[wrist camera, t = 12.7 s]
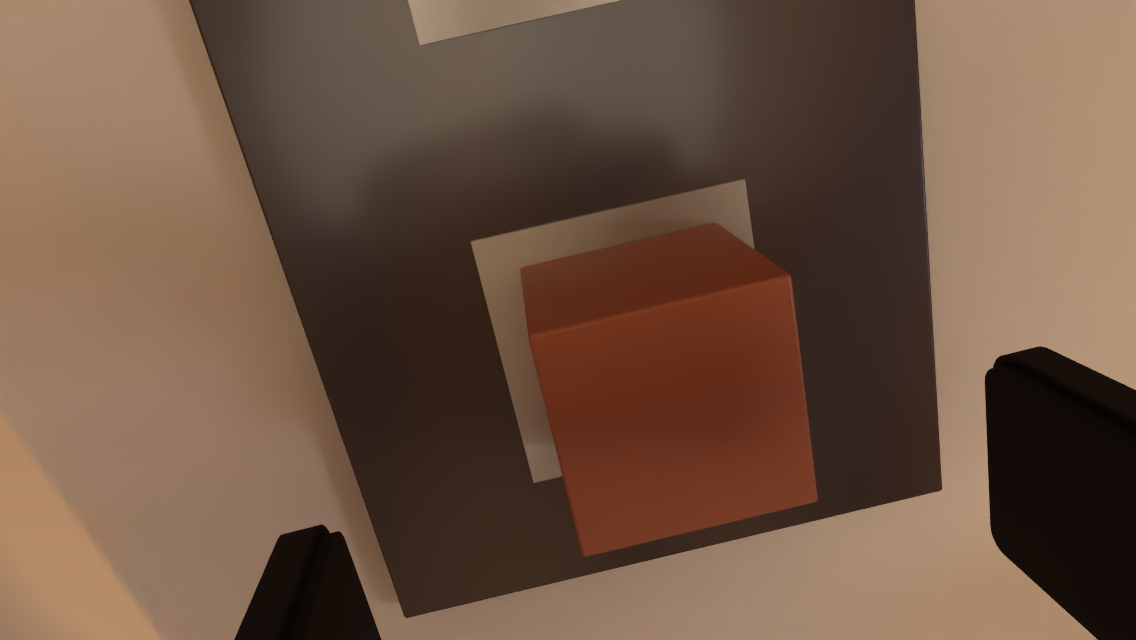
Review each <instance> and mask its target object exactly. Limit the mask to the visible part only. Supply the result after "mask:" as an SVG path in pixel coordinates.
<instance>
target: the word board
mask: <svg viewBox="0 0 1136 640" xmlns="http://www.w3.org/2000/svg"><path fill="white" fill-rule="evenodd" d="M189 2H190V5H191V8H192V10H193V13H194V16H195V19H196V22H197V25H198V28H199V31H200V33H201V36H202V39H203V42H204V45H205V48H206V51H207V53H208V56H209V59H210V62H211V65H212V68H213V71H214V73H215V76H216V79H217V82H218V85H219V88H220V91H221V93H222V96H223V99H224V102H225V105H226V108H227V111H228V113H229V116H230V119H231V122H232V125H233V128H234V131H235V133H236V136H237V139H238V142H239V145H240V148H241V151H242V154H243V156H244V159H245V162H246V165H247V168H248V171H249V174H250V176H251V179H252V182H253V185H254V188H255V191H256V194H257V196H258V199H259V202H260V205H261V208H262V211H263V214H264V216H265V219H266V222H267V225H268V228H269V231H270V234H271V236H272V239H273V242H274V245H275V248H276V251H277V254H278V256H279V259H280V262H281V265H282V268H283V271H284V274H285V277H286V279H287V282H288V285H289V288H290V291H291V294H292V297H293V299H294V302H295V305H296V308H297V311H298V314H299V317H300V319H301V322H302V325H303V328H304V331H305V334H306V337H307V339H308V342H309V345H310V348H311V351H312V354H313V357H314V359H315V362H316V365H317V368H318V371H319V374H320V377H321V379H322V382H323V385H324V388H325V391H326V394H327V397H328V400H329V402H330V405H331V408H332V411H333V414H334V417H335V420H336V422H337V425H338V428H339V431H340V434H341V437H342V440H343V442H344V445H345V448H346V451H347V454H348V457H349V460H350V462H351V465H352V468H353V471H354V474H355V477H356V480H357V482H358V485H359V488H360V491H361V494H362V497H363V500H364V502H365V505H366V508H367V511H368V514H369V517H370V520H371V523H372V525H373V528H374V531H375V534H376V537H377V540H378V543H379V545H380V548H381V551H382V554H383V557H384V560H385V563H386V565H387V568H388V571H389V574H390V577H391V580H392V583H393V585H394V588H395V591H396V594H397V597H398V600H399V603H400V605H401V608H402V611H403V614H404V616H405V618H409V617H413V616H417V615H421V614H426V613H430V612H434V611H438V610H442V609H447V608H451V607H455V606H459V605H463V604H468V603H472V602H476V601H480V600H484V599H489V598H493V597H497V596H501V595H505V594H509V593H514V592H518V591H522V590H526V589H530V588H535V587H539V586H543V585H547V584H551V583H556V582H560V581H564V580H568V579H572V578H577V577H581V576H585V575H589V574H593V573H597V572H602V571H606V570H610V569H614V568H618V567H623V566H627V565H631V564H635V563H639V562H644V561H648V560H652V559H656V558H660V557H665V556H669V555H673V554H677V553H681V552H685V551H690V550H694V549H698V548H702V547H706V546H711V545H715V544H719V543H723V542H727V541H732V540H736V539H740V538H744V537H748V536H753V535H757V534H761V533H765V532H769V531H773V530H778V529H782V528H786V527H790V526H794V525H799V524H803V523H807V522H811V521H815V520H820V519H824V518H828V517H832V516H836V515H841V514H845V513H849V512H853V511H857V510H861V509H866V508H870V507H874V506H878V505H882V504H887V503H891V502H895V501H899V500H903V499H908V498H912V497H916V496H920V495H924V494H929V493H933V492H937V491H940V490H942V480H941V463H940V445H939V427H938V409H937V391H936V373H935V356H934V338H933V320H932V302H931V284H930V266H929V248H928V231H927V213H926V195H925V177H924V159H923V141H922V124H921V106H920V88H919V70H918V52H917V34H916V17H915V0H189ZM713 223H718V224H719V225H721V226H722V227H723V228H725V229H726V230H728V231H729V232H731V233H732V234H733V235H735V236H736V237H738V238H739V239H740V240H742V241H743V242H745V243H746V244H747V245H749V246H750V247H752V248H753V249H754V250H756V251H757V252H759V253H760V254H762V255H763V256H764V257H766V258H767V259H769V260H770V261H771V262H773V263H774V264H776V265H777V266H778V267H780V268H781V269H783V270H784V271H786V272H787V273H788V274H790V276H791V280H792V288H793V296H794V305H795V313H796V321H797V330H798V338H799V347H800V355H801V363H802V372H803V380H804V388H805V397H806V405H807V413H808V422H809V430H810V438H811V447H812V455H813V463H814V472H815V480H816V488H817V497H818V499H817V501H816V502H814V503H809V504H805V505H801V506H797V507H793V508H788V509H784V510H780V511H776V512H772V513H767V514H763V515H759V516H755V517H751V518H747V519H742V520H738V521H734V522H730V523H726V524H721V525H717V526H713V527H709V528H705V529H700V530H696V531H692V532H688V533H684V534H679V535H675V536H671V537H667V538H663V539H658V540H654V541H650V542H646V543H642V544H638V545H633V546H629V547H625V548H621V549H617V550H612V551H608V552H604V553H600V554H596V555H591V556H587V557H585V556H583V555H582V553H581V549H580V545H579V541H578V537H577V533H576V529H575V525H574V521H573V517H572V513H571V508H570V504H569V500H568V496H567V492H566V488H565V484H564V480H563V476H562V472H561V468H560V464H559V460H558V456H557V452H556V448H555V444H554V439H553V435H552V431H551V427H550V423H549V419H548V415H547V411H546V407H545V403H544V399H543V395H542V391H541V387H540V383H539V379H538V375H537V370H536V366H535V362H534V358H533V354H532V350H531V346H530V342H529V338H528V330H527V322H526V314H525V306H524V298H523V290H522V282H521V274H520V270H521V268H523V267H526V266H531V265H535V264H539V263H544V262H548V261H552V260H557V259H561V258H565V257H570V256H574V255H578V254H583V253H587V252H591V251H596V250H600V249H604V248H609V247H613V246H617V245H622V244H626V243H630V242H635V241H639V240H643V239H648V238H652V237H656V236H661V235H665V234H669V233H674V232H678V231H682V230H687V229H691V228H695V227H700V226H704V225H708V224H713Z"/></svg>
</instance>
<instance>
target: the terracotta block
mask: <svg viewBox="0 0 1136 640" xmlns="http://www.w3.org/2000/svg"><path fill="white" fill-rule="evenodd" d="M520 274H521V282H522V290H523V298H524V306H525V314H526V322H527V330H528V338H529V342H530V346H531V350H532V354H533V358H534V362H535V366H536V370H537V375H538V379H539V383H540V387H541V391H542V395H543V399H544V403H545V407H546V411H547V415H548V419H549V423H550V427H551V431H552V435H553V439H554V444H555V448H556V452H557V456H558V460H559V464H560V468H561V472H562V476H563V480H564V484H565V488H566V492H567V496H568V500H569V504H570V508H571V513H572V517H573V521H574V525H575V529H576V533H577V537H578V541H579V545H580V549H581V553H582V555H583V556H585V557H587V556H591V555H596V554H600V553H604V552H608V551H612V550H617V549H621V548H625V547H629V546H633V545H638V544H642V543H646V542H650V541H654V540H658V539H663V538H667V537H671V536H675V535H679V534H684V533H688V532H692V531H696V530H700V529H705V528H709V527H713V526H717V525H721V524H726V523H730V522H734V521H738V520H742V519H747V518H751V517H755V516H759V515H763V514H767V513H772V512H776V511H780V510H784V509H788V508H793V507H797V506H801V505H805V504H809V503H814V502H816V501H817V499H818V497H817V488H816V480H815V472H814V463H813V455H812V447H811V438H810V430H809V422H808V413H807V405H806V397H805V388H804V380H803V372H802V363H801V355H800V347H799V338H798V330H797V321H796V313H795V305H794V296H793V288H792V280H791V276H790V274H788V273H787V272H786V271H784V270H783V269H781V268H780V267H778V266H777V265H776V264H774V263H773V262H771V261H770V260H769V259H767V258H766V257H764V256H763V255H762V254H760V253H759V252H757V251H756V250H754V249H753V248H752V247H750V246H749V245H747V244H746V243H745V242H743V241H742V240H740V239H739V238H738V237H736V236H735V235H733V234H732V233H731V232H729V231H728V230H726V229H725V228H723V227H722V226H721V225H719V224H718V223H713V224H708V225H704V226H700V227H695V228H691V229H687V230H682V231H678V232H674V233H669V234H665V235H661V236H656V237H652V238H648V239H643V240H639V241H635V242H630V243H626V244H622V245H617V246H613V247H609V248H604V249H600V250H596V251H591V252H587V253H583V254H578V255H574V256H570V257H565V258H561V259H557V260H552V261H548V262H544V263H539V264H535V265H531V266H526V267H523V268H521V270H520Z"/></svg>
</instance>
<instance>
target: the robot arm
mask: <svg viewBox="0 0 1136 640" xmlns="http://www.w3.org/2000/svg"><path fill="white" fill-rule="evenodd" d="M985 397H986V422H987V448H988V474H989V499H990V525H991V532H992V535H993V538H994V540H995V543H996V545H997V546H998V548H999V549H1000V551H1001V552H1002V553H1003V554H1004V555H1005V556H1006V557H1007V558H1008V559H1010V560H1011V561H1012V562H1013V563H1014V564H1015V565H1016V566H1017V567H1018V568H1019V569H1021V570H1022V571H1023V572H1024V573H1025V574H1026V575H1027V576H1028V577H1029V578H1030V579H1032V580H1033V581H1034V582H1035V583H1036V584H1037V585H1038V586H1039V587H1040V588H1042V589H1043V590H1044V591H1045V592H1046V593H1047V594H1048V595H1049V596H1050V597H1051V598H1053V599H1054V600H1055V601H1056V602H1057V603H1058V604H1059V605H1060V606H1061V607H1062V608H1064V609H1065V610H1066V611H1067V612H1068V613H1069V614H1070V615H1071V616H1072V617H1074V618H1075V619H1076V620H1077V621H1078V622H1079V623H1080V624H1081V625H1082V626H1083V627H1085V628H1086V629H1087V630H1088V631H1089V632H1090V633H1091V634H1092V635H1093V636H1094V637H1096V638H1097V639H1098V640H1136V390H1134V389H1132V388H1130V387H1128V386H1126V385H1124V384H1122V383H1119V382H1117V381H1115V380H1113V379H1111V378H1109V377H1107V376H1105V375H1103V374H1101V373H1098V372H1096V371H1094V370H1092V369H1090V368H1088V367H1086V366H1084V365H1082V364H1079V363H1077V362H1075V361H1073V360H1071V359H1069V358H1067V357H1065V356H1063V355H1061V354H1058V353H1056V352H1054V351H1052V350H1050V349H1048V348H1045V347H1041V346H1040V347H1035V348H1031V349H1027V350H1023V351H1019V352H1015V353H1011V354H1007V355H1003V356H1000V357H998V358H997V359H996V361H995V363H994V366H993V368H992V369H990V370H988V371H987V373H986V376H985ZM234 640H381V637H380V635H379V632H378V629H377V626H376V624H375V621H374V618H373V615H372V613H371V610H370V607H369V604H368V601H367V599H366V596H365V593H364V590H363V588H362V585H361V582H360V579H359V577H358V574H357V571H356V568H355V566H354V563H353V560H352V557H351V555H350V552H349V549H348V546H347V543H346V541H345V539H344V536H343V535H342V533H341V532H339V531H337V532H333V533H329V531H328V529H327V528H326V527H325V526H324V525H318V526H314V527H310V528H306V529H302V530H298V531H294V532H290V533H286V534H283V535H280V537H279V538H278V540H277V542H276V544H275V547H274V549H273V551H272V554H271V556H270V558H269V561H268V563H267V565H266V568H265V570H264V572H263V574H262V577H261V579H260V581H259V584H258V586H257V588H256V591H255V593H254V595H253V598H252V600H251V602H250V605H249V607H248V609H247V612H246V614H245V616H244V619H243V621H242V623H241V625H240V628H239V630H238V632H237V635H236V637H235V639H234Z"/></svg>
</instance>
